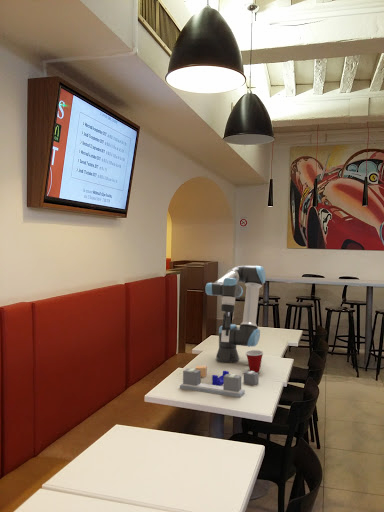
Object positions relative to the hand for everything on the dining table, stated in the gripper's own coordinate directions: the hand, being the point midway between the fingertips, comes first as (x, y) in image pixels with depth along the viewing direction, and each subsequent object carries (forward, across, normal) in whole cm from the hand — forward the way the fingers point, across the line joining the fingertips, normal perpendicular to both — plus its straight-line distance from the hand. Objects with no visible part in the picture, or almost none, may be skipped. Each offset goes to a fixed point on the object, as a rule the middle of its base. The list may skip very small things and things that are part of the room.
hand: (224, 341), depth 259 cm
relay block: (+21, +3, +16) cm, 27 cm away
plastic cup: (+16, -19, +22) cm, 33 cm away
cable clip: (+23, +3, -1) cm, 23 cm away
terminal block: (+21, -13, -11) cm, 26 cm away
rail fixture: (+26, +15, -6) cm, 31 cm away
